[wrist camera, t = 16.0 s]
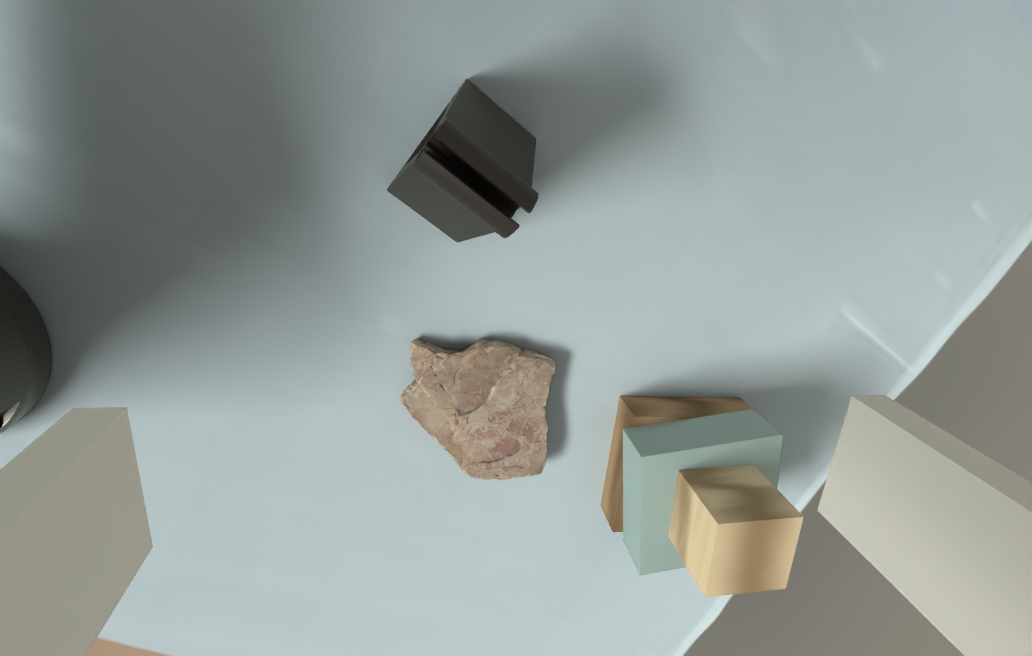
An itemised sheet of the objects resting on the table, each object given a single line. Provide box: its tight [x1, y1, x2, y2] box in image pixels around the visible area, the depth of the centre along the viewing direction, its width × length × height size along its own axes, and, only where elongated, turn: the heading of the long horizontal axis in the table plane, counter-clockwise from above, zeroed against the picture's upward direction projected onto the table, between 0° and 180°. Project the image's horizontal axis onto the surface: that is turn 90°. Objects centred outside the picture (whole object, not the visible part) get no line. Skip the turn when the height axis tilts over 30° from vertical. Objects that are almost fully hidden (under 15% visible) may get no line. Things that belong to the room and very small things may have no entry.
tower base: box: [601, 396, 752, 532], centre depth 49 cm, size 11×11×4 cm
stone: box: [401, 339, 555, 480], centre depth 45 cm, size 12×12×3 cm
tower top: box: [623, 409, 783, 575], centre depth 45 cm, size 11×11×4 cm
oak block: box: [668, 465, 803, 597], centre depth 40 cm, size 6×6×6 cm
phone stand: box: [387, 79, 538, 242], centre depth 33 cm, size 9×6×12 cm, turn 141°
